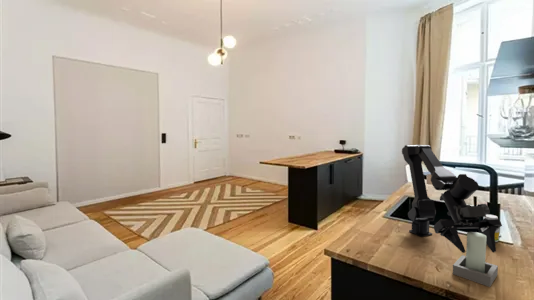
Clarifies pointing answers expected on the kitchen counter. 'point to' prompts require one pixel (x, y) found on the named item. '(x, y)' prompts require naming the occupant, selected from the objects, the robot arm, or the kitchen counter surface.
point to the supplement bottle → (496, 230)
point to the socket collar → (475, 272)
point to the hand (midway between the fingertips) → (479, 252)
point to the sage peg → (476, 251)
